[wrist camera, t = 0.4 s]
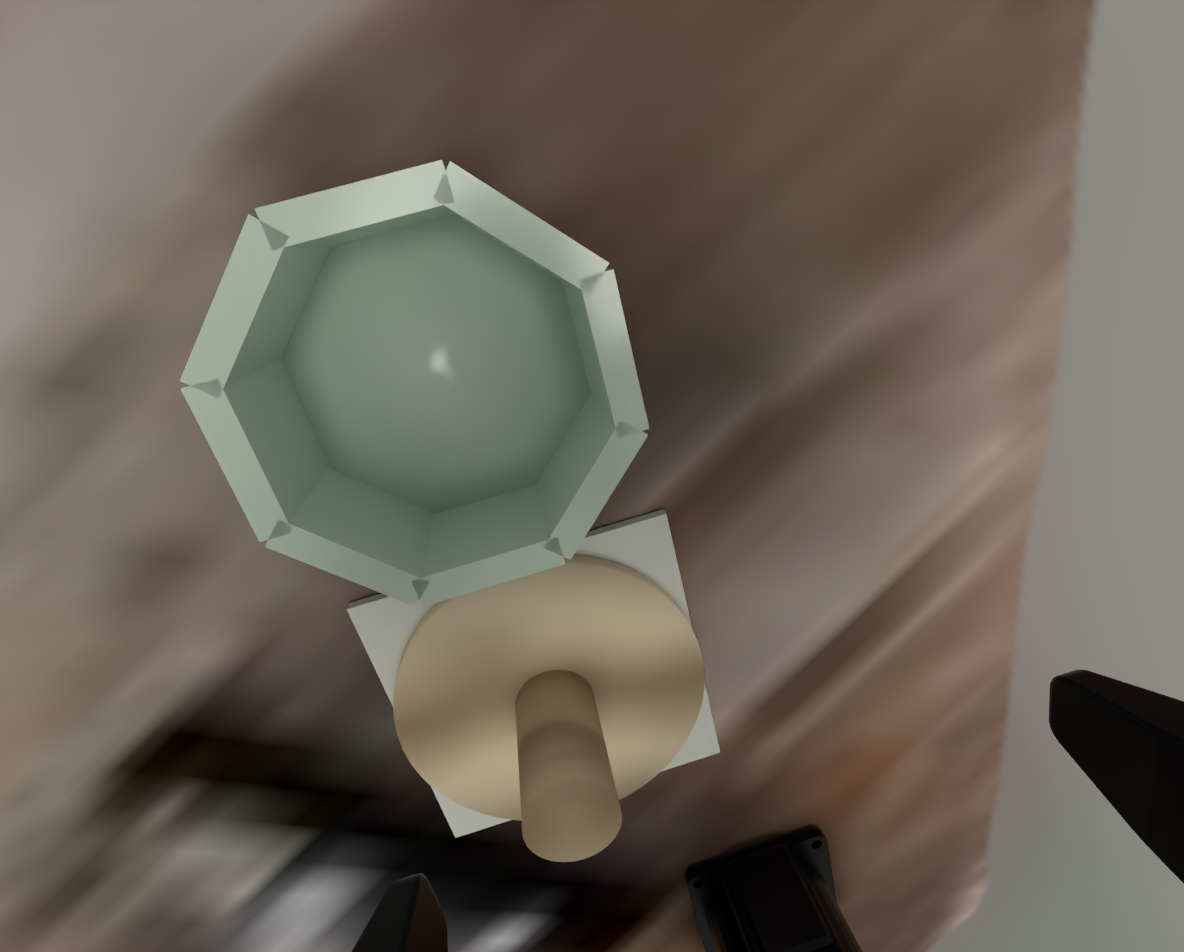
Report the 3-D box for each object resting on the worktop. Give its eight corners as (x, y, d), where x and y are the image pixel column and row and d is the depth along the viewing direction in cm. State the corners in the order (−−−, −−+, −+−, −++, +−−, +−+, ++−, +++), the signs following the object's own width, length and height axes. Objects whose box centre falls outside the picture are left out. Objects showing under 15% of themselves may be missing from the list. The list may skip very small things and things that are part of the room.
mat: (717, 744, 25) (720, 752, 25) (455, 829, 25) (455, 837, 24) (663, 508, 21) (666, 513, 21) (349, 602, 21) (346, 609, 20)
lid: (720, 752, 25) (783, 890, 20) (455, 837, 24) (446, 1004, 19) (666, 513, 21) (727, 605, 16) (346, 609, 20) (295, 739, 15)
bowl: (632, 469, 21) (672, 531, 16) (350, 553, 20) (310, 640, 16) (557, 155, 17) (580, 123, 13) (210, 246, 16) (107, 246, 12)
